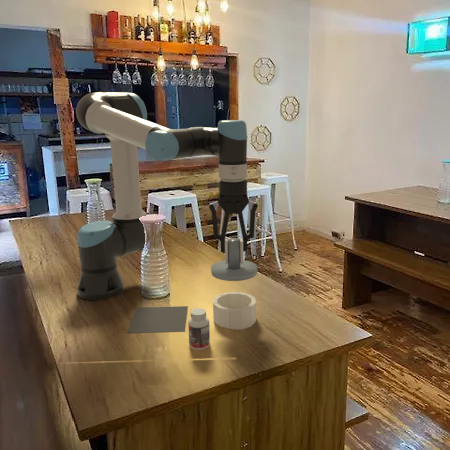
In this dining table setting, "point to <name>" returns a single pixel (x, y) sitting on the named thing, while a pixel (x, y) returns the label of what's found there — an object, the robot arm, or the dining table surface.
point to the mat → (158, 319)
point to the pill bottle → (198, 329)
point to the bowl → (234, 310)
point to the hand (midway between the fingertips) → (234, 262)
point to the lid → (234, 265)
